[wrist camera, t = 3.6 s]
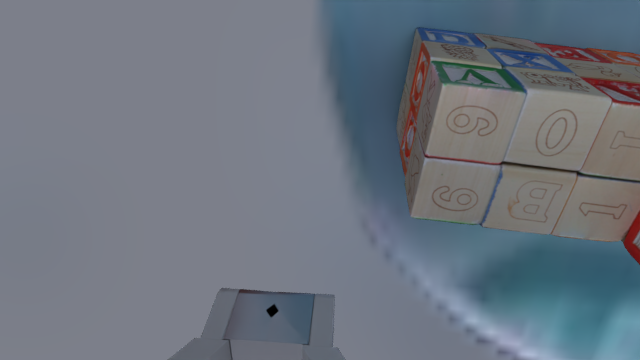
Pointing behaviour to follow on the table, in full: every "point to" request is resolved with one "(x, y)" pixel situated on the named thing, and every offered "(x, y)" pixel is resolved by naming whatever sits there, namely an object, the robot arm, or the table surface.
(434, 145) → the stack of blocks
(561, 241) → the table surface
